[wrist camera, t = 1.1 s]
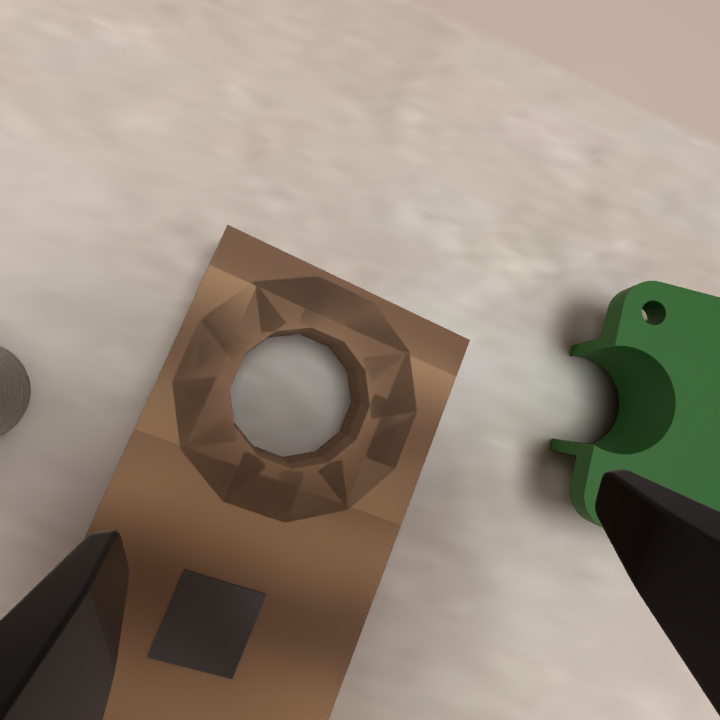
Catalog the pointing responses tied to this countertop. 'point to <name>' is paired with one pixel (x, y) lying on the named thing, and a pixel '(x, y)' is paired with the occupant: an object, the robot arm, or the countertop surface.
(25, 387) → the grey and gold cylinder
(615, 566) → the countertop surface
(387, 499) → the socket plate
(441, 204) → the countertop surface
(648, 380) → the clamp
